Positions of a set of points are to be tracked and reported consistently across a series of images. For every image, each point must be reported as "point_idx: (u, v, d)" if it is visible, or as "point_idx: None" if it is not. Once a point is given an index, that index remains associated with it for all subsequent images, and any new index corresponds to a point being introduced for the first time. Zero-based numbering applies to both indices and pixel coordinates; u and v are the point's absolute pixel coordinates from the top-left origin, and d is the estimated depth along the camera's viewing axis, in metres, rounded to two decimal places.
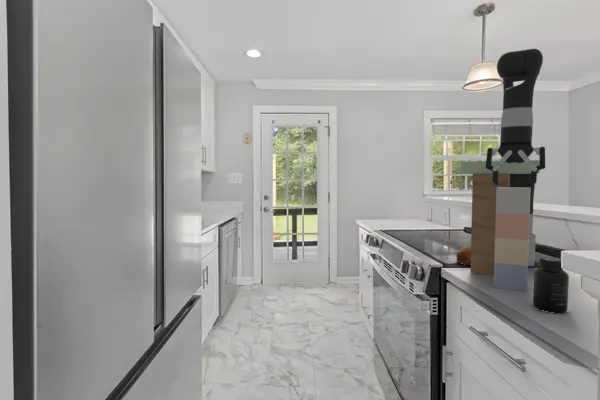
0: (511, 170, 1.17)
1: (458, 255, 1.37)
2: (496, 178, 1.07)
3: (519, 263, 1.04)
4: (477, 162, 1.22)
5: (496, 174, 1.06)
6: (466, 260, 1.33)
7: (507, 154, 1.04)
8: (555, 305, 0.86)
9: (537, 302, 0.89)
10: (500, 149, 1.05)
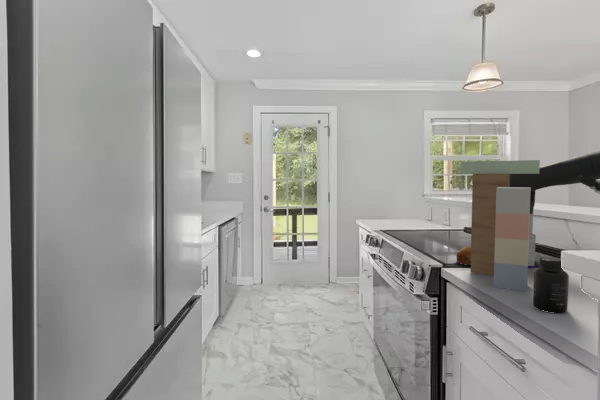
0: (511, 170, 1.17)
1: (458, 255, 1.36)
2: (584, 183, 1.08)
3: (519, 263, 1.04)
4: (477, 162, 1.22)
5: (588, 185, 1.08)
6: (466, 260, 1.33)
7: None
8: (555, 305, 0.86)
9: (537, 302, 0.89)
10: None
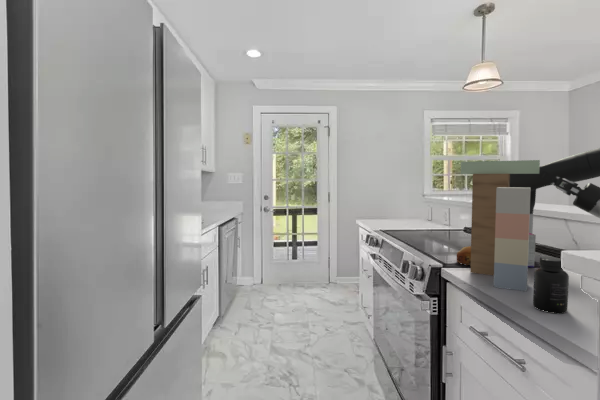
0: (511, 170, 1.17)
1: (458, 255, 1.36)
2: (544, 179, 1.11)
3: (519, 263, 1.04)
4: (477, 162, 1.22)
5: (548, 181, 1.11)
6: (466, 260, 1.33)
7: (565, 193, 1.11)
8: (555, 305, 0.86)
9: (537, 302, 0.89)
10: None
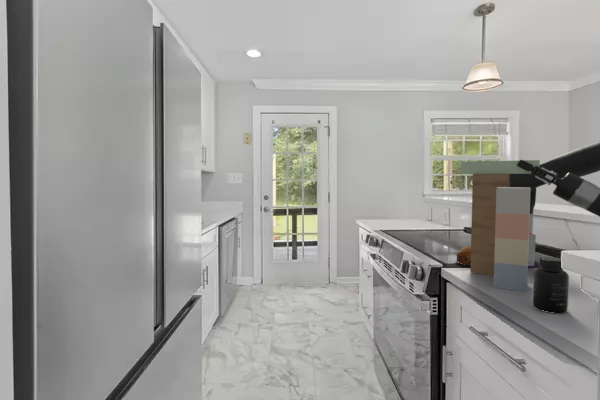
0: (511, 170, 1.17)
1: (458, 255, 1.36)
2: (522, 168, 1.16)
3: (519, 263, 1.04)
4: (477, 162, 1.22)
5: None
6: (466, 260, 1.33)
7: (545, 183, 1.13)
8: (555, 305, 0.86)
9: (537, 302, 0.89)
10: None
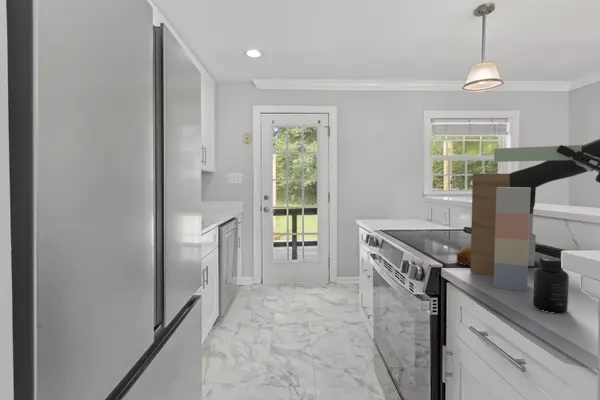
0: (550, 157, 1.11)
1: (458, 255, 1.36)
2: None
3: (519, 263, 1.04)
4: (512, 148, 1.16)
5: None
6: (466, 260, 1.33)
7: (587, 169, 1.07)
8: (555, 305, 0.86)
9: (537, 302, 0.89)
10: (595, 168, 1.05)
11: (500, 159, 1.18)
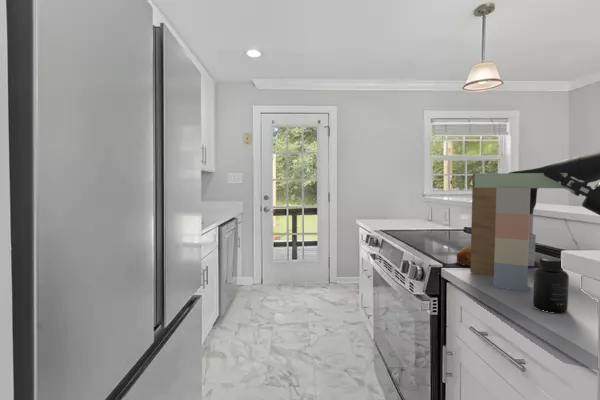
0: (534, 184, 1.02)
1: (458, 256, 1.36)
2: (550, 178, 0.99)
3: (519, 263, 1.04)
4: (494, 174, 1.07)
5: (554, 180, 0.98)
6: (466, 261, 1.32)
7: None
8: (555, 305, 0.86)
9: (537, 302, 0.89)
10: None
11: (481, 185, 1.09)
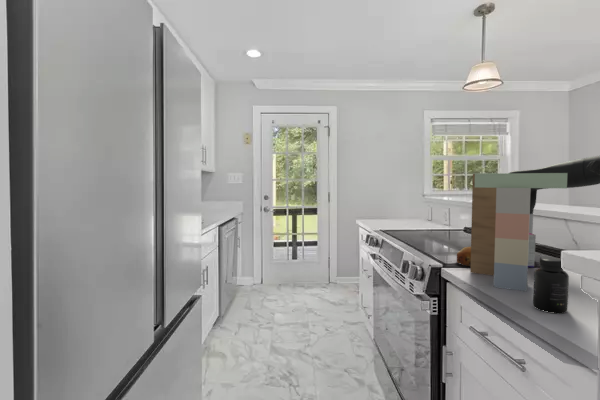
0: (534, 184, 1.02)
1: (458, 256, 1.36)
2: (596, 171, 0.95)
3: (519, 263, 1.04)
4: (494, 174, 1.07)
5: None
6: (466, 261, 1.32)
7: None
8: (555, 305, 0.86)
9: (537, 302, 0.89)
10: None
11: (481, 185, 1.09)
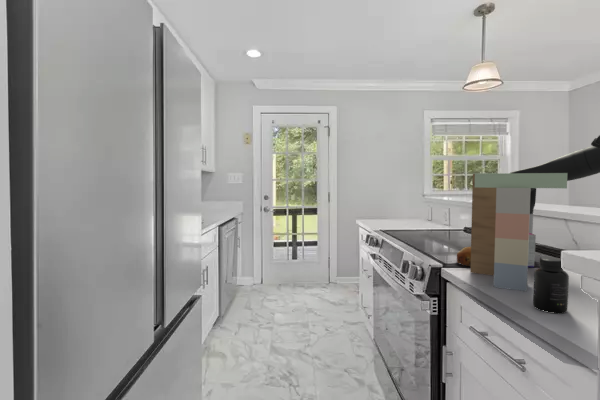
0: (534, 184, 1.02)
1: (458, 256, 1.35)
2: None
3: (519, 263, 1.04)
4: (494, 174, 1.07)
5: None
6: (466, 261, 1.32)
7: None
8: (555, 305, 0.86)
9: (537, 302, 0.89)
10: None
11: (481, 185, 1.09)
